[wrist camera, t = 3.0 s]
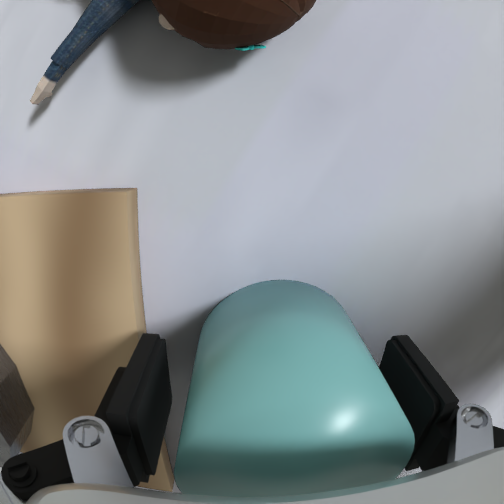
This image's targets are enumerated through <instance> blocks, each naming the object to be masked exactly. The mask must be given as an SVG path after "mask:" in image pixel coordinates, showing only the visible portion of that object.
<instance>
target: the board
mask: <svg viewBox="0 0 504 504" xmlns="http://www.w3.org/2000/svg"><path fill="white" fill-rule="evenodd" d="M143 333H146V324H145V315H144V306H143V295H142V284H141V271H140V256H139V238H138V209H137V188H112V189H77V190H55V191H37V192H21V193H8V194H0V344H1V345H2V347H3V348H4V350H5V351H6V352H7V354H8V355H9V356H10V358H11V359H12V360H13V362H14V363H15V364H16V366H17V369H18V371H19V374H20V376H21V379H22V381H23V384H24V386H25V388H26V391H27V393H28V395H29V397H30V400H31V402H32V404H33V406H34V408H35V409H34V415H33V422H32V428H31V433H30V435H29V436H28V438H27V440H26V441H25V443H24V445H23V446H22V448H21V450H20V452H23V453H25V452H28V451H31V450H34V449H37V448H40V447H43V446H46V445H48V444H51V443H54V442H57V441H59V440H62V439H63V430H64V427H65V426H66V425H67V423H68V422H69V421H71V420H73V419H74V418H77V417H80V416H95V413H96V411H97V409H98V407H99V405H100V403H101V401H102V399H103V397H104V395H105V392H106V390H107V388H108V386H109V384H110V382H111V380H112V378H113V376H114V374H115V372H116V370H117V369H118V367H127V365H128V363H129V360H130V358H131V356H132V354H133V352H134V350H135V348H136V346H137V344H138V342H139V340H140V338H141V336H142V334H143ZM173 483H174V476H173V472H172V468H171V464H170V460H169V456H168V452H167V447H166V443H165V438H163V442H162V447H161V451H160V456H159V460H158V465H157V469H156V474H155V475H150V477H149V481H148V483H145V482H140V484H139V485H137V486H138V487H144V488H150V489H156V490H163V491H170V492H172V490H173Z"/></svg>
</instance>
